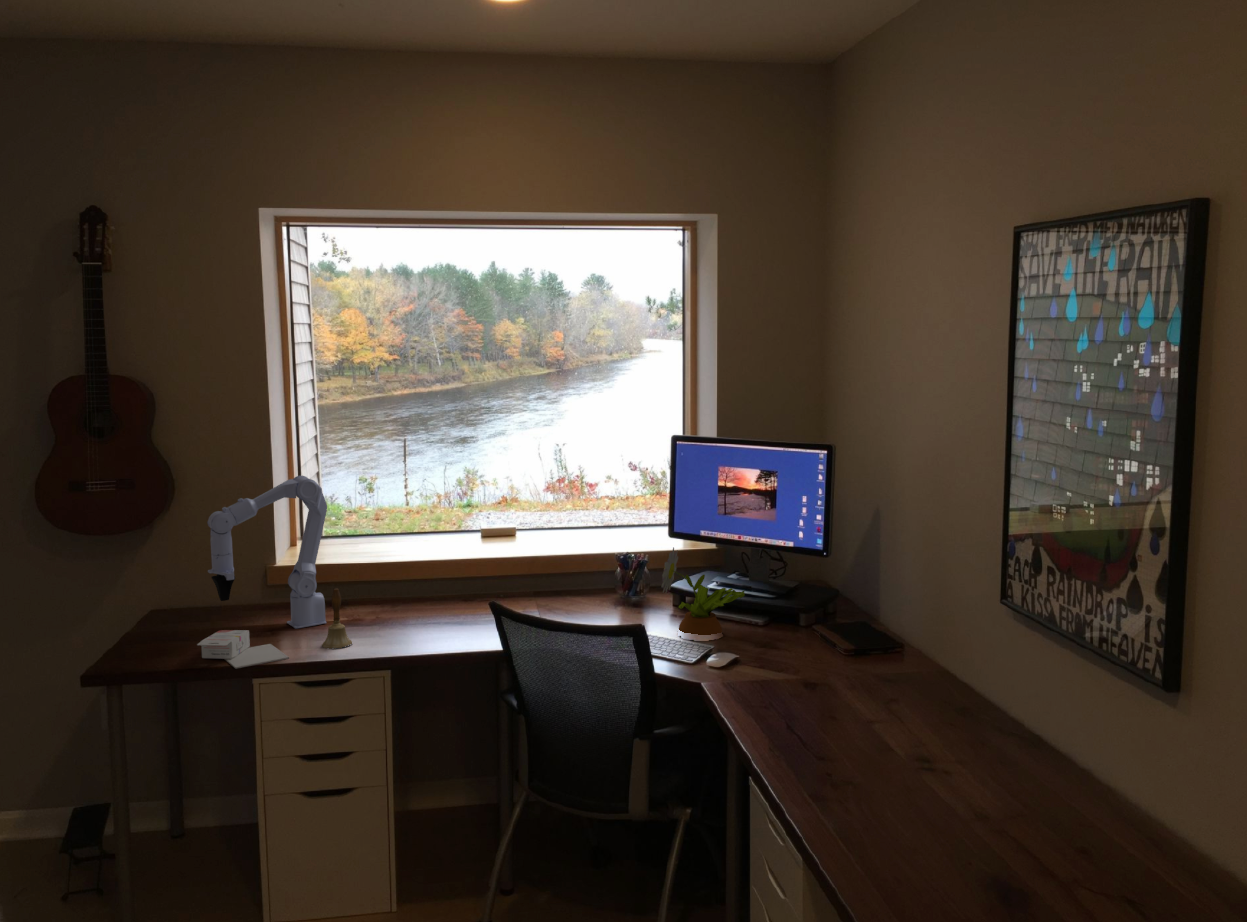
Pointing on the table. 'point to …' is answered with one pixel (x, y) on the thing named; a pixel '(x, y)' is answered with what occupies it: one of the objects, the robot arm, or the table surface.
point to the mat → (257, 656)
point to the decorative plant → (698, 602)
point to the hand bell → (336, 626)
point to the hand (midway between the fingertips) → (224, 600)
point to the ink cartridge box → (225, 644)
